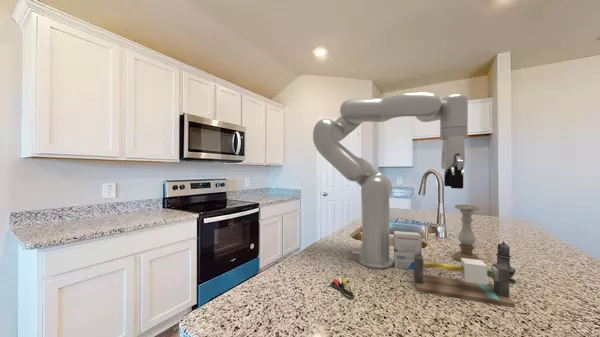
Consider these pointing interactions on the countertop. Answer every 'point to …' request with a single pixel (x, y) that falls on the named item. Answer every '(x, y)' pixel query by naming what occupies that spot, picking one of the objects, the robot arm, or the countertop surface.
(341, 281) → the composite cable
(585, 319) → the countertop surface
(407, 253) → the ink box
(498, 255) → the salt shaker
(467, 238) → the candle holder
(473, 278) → the sleeve
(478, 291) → the cord board
